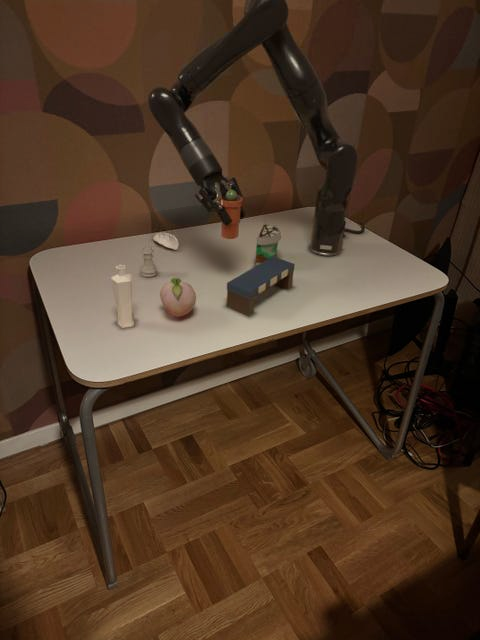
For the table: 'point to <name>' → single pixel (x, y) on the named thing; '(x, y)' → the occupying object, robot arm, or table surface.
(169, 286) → the decorative fruit
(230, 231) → the pot
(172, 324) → the table surface
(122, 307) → the perfume bottle
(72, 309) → the table surface
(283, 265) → the dark blue bench
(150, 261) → the rook chess piece
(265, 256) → the wedge shaped tart
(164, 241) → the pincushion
